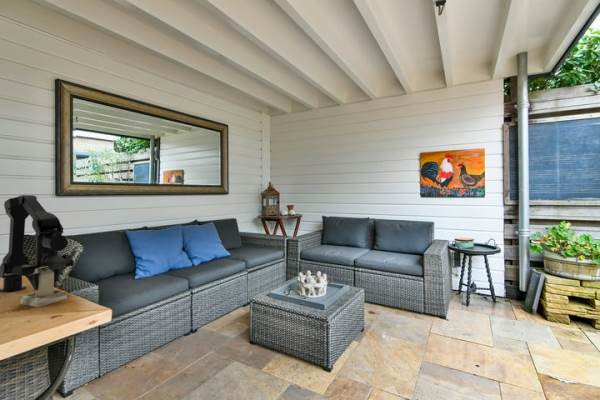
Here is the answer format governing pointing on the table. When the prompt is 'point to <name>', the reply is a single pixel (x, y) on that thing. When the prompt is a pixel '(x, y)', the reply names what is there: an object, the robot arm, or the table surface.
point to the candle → (45, 283)
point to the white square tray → (43, 298)
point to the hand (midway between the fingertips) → (44, 288)
